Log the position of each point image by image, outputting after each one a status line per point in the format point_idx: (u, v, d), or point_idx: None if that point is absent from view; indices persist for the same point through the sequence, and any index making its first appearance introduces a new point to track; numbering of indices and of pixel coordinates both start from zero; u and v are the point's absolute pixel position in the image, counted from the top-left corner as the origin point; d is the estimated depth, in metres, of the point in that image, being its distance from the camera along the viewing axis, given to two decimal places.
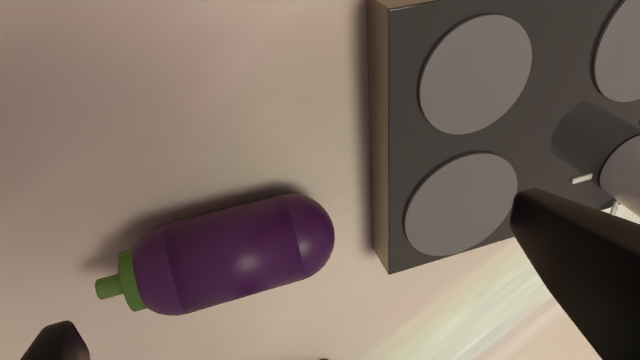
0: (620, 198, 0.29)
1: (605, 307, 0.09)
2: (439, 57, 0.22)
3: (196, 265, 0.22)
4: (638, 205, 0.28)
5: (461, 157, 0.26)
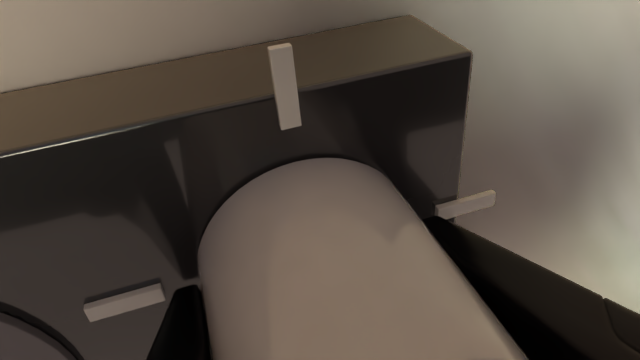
0: None
1: None
2: None
3: None
4: None
5: None
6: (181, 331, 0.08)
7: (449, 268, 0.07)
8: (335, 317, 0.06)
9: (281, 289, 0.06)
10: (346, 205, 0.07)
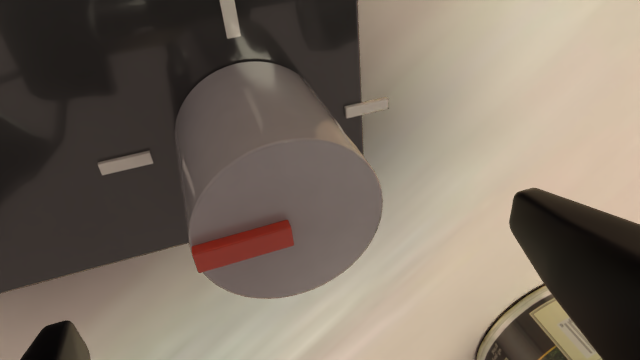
0: None
1: (605, 307, 0.09)
2: None
3: None
4: None
5: None
6: None
7: (325, 114, 0.11)
8: (245, 125, 0.10)
9: (218, 120, 0.11)
10: (265, 82, 0.12)
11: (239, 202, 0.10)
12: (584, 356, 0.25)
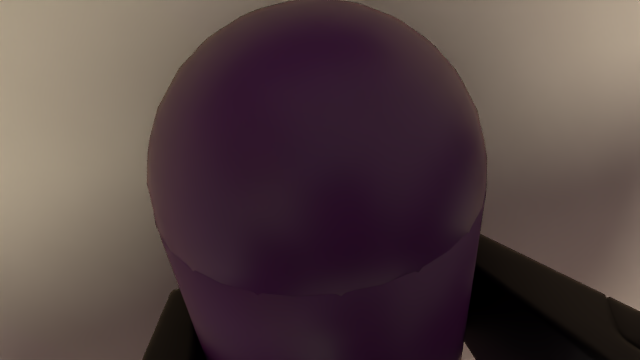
0: None
1: (497, 345, 0.08)
2: None
3: None
4: None
5: None
6: (177, 332, 0.08)
7: None
8: None
9: None
10: None
11: None
12: None
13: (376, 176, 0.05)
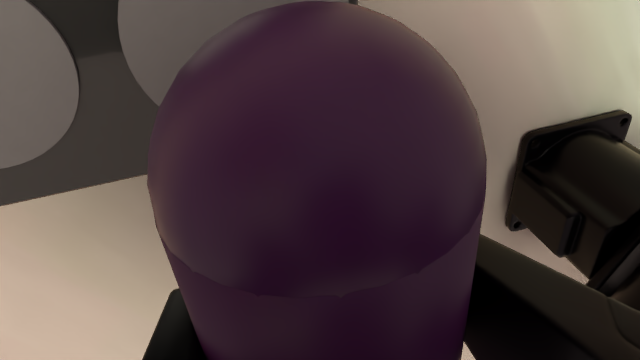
0: None
1: (497, 345, 0.08)
2: None
3: None
4: None
5: (127, 63, 0.15)
6: (177, 332, 0.08)
7: None
8: None
9: None
10: None
11: None
12: None
13: (376, 178, 0.05)
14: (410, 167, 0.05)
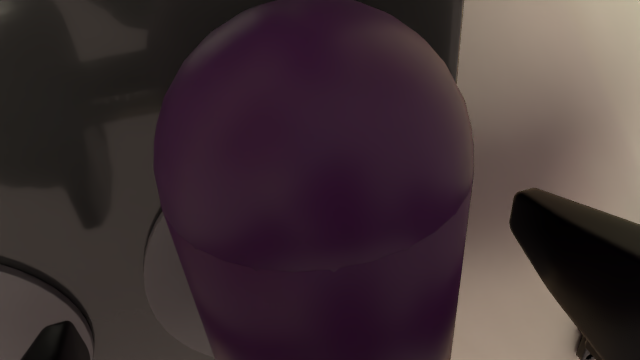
0: None
1: (605, 307, 0.09)
2: None
3: None
4: None
5: (156, 315, 0.11)
6: None
7: None
8: None
9: None
10: None
11: None
12: None
13: (366, 159, 0.05)
14: (399, 149, 0.05)
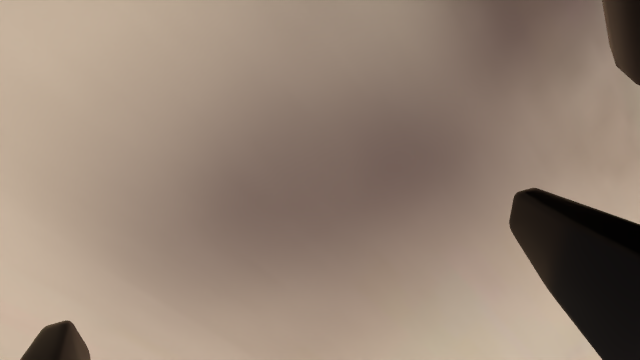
0: None
1: (605, 307, 0.09)
2: None
3: None
4: None
5: None
6: None
7: None
8: None
9: None
10: None
11: None
12: None
13: None
14: None
